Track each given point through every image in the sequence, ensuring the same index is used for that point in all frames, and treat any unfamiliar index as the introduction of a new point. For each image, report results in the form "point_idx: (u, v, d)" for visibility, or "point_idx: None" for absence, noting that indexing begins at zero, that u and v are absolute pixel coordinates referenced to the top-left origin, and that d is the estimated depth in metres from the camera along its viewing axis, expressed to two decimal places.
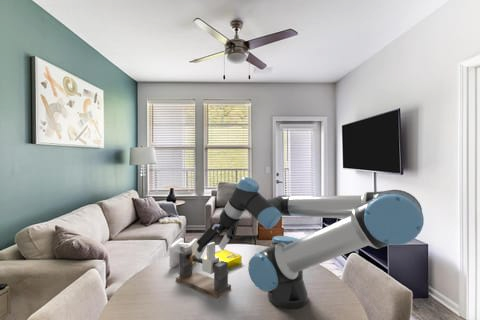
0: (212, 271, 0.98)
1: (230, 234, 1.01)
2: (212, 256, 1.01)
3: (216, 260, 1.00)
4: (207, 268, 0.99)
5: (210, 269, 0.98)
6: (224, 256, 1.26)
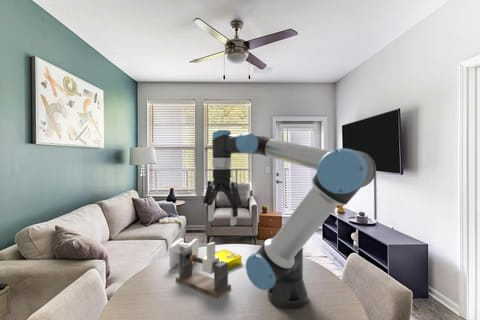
0: (212, 271, 0.98)
1: (229, 200, 0.94)
2: (212, 256, 1.01)
3: (216, 260, 1.00)
4: (207, 268, 0.99)
5: (210, 269, 0.98)
6: (224, 256, 1.26)
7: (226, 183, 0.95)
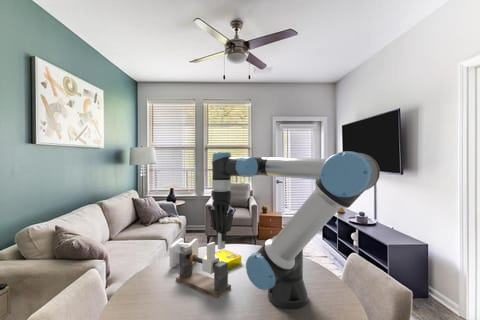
0: (212, 271, 0.98)
1: (221, 224, 0.96)
2: (212, 256, 1.01)
3: (216, 260, 1.00)
4: (207, 268, 0.99)
5: (210, 269, 0.98)
6: (224, 256, 1.26)
7: (226, 206, 0.95)
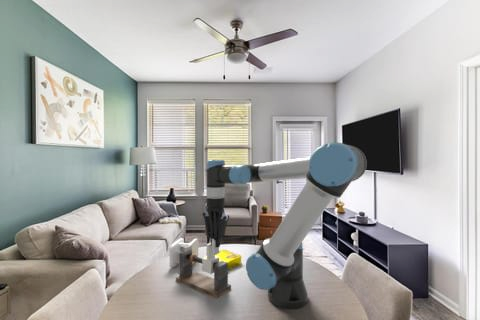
0: (212, 271, 0.98)
1: (215, 230, 0.98)
2: (212, 256, 1.01)
3: (216, 260, 1.00)
4: (207, 268, 0.99)
5: (210, 269, 0.98)
6: (223, 256, 1.26)
7: (219, 212, 0.97)
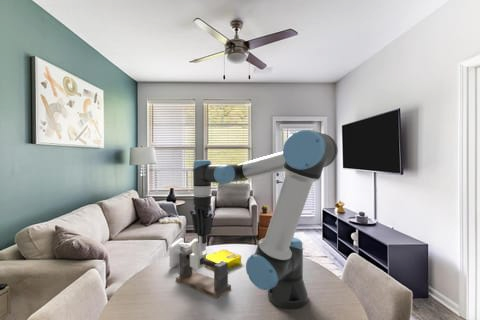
0: (199, 266, 1.03)
1: (202, 227, 1.03)
2: (199, 252, 1.06)
3: (203, 256, 1.05)
4: (194, 264, 1.03)
5: (197, 264, 1.02)
6: (223, 256, 1.26)
7: (205, 210, 1.02)
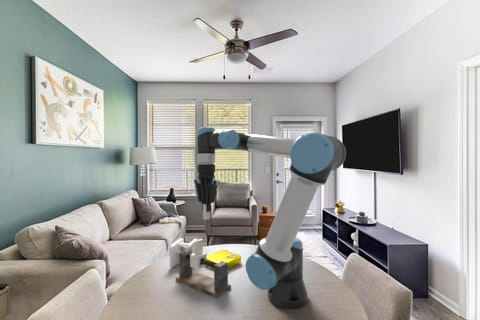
0: (199, 266, 1.03)
1: (206, 195, 1.02)
2: (199, 252, 1.06)
3: (203, 256, 1.05)
4: (194, 264, 1.03)
5: (197, 265, 1.02)
6: (223, 256, 1.26)
7: (210, 178, 1.01)
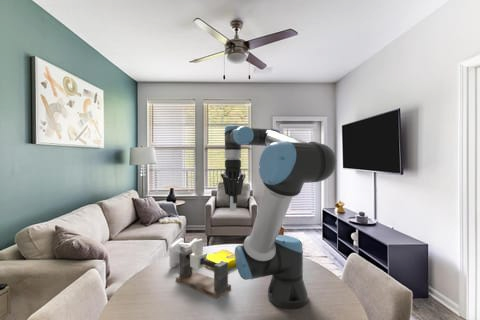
0: (199, 266, 1.03)
1: (233, 188, 1.11)
2: (199, 252, 1.06)
3: (203, 256, 1.05)
4: (194, 264, 1.03)
5: (197, 265, 1.02)
6: (223, 256, 1.26)
7: (237, 172, 1.10)
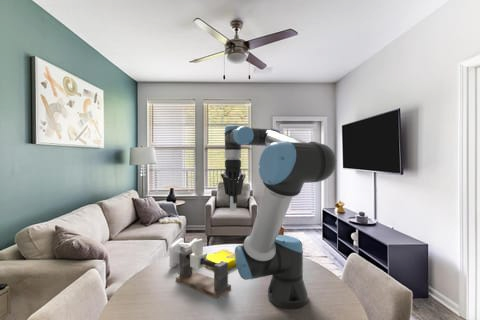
0: (199, 266, 1.03)
1: (233, 188, 1.11)
2: (199, 252, 1.06)
3: (203, 256, 1.05)
4: (194, 264, 1.03)
5: (197, 265, 1.02)
6: (223, 256, 1.25)
7: (237, 172, 1.10)
